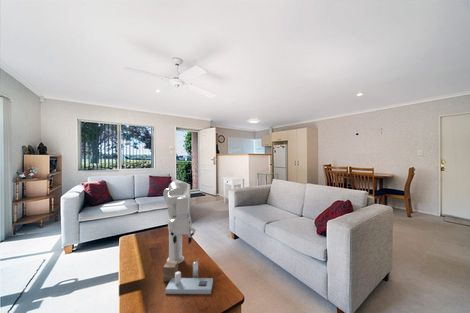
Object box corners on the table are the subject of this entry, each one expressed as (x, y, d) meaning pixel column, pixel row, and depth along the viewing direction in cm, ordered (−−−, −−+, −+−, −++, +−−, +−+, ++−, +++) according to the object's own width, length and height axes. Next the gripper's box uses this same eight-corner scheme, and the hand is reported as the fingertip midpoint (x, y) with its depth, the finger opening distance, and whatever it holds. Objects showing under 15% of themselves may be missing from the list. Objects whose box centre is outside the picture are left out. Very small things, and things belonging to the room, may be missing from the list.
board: (171, 281, 114) (171, 268, 114) (213, 282, 114) (213, 268, 114) (165, 293, 104) (165, 278, 104) (210, 293, 104) (210, 278, 104)
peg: (193, 276, 120) (193, 260, 120) (198, 276, 120) (198, 260, 120) (192, 279, 116) (192, 263, 116) (197, 279, 116) (197, 263, 116)
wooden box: (167, 274, 122) (167, 260, 122) (177, 274, 121) (177, 260, 122) (163, 281, 115) (163, 266, 115) (174, 281, 114) (174, 266, 115)
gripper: (197, 214, 122) (197, 240, 121) (172, 214, 123) (171, 240, 122) (193, 218, 114) (193, 245, 114) (167, 217, 116) (166, 245, 115)
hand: (182, 242), depth 118 cm, fingers open, 9 cm apart
